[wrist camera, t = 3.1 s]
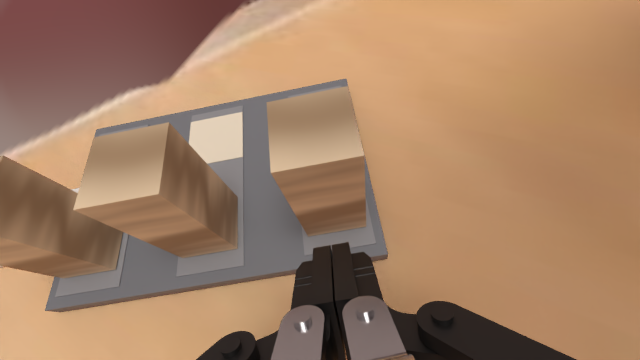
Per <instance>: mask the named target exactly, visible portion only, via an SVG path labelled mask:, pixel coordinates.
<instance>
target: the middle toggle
mask: <svg viewBox="0 0 640 360" xmlns="http://www.w3.org/2000/svg"><path fill="white" fill-rule="evenodd" d="M73 210H74V211H77V212H79V213H81V214H83V215H86V216H88V217H90V218H93V219H95V220H97V221H99V222H102V223H104V224H106V225H108V226H111V227H113V228H115V229H117V230H120V231H122V232H124V233H127V234H129V235H131V236H133V237H136V238H138V239H140V240H142V241H145V242H147V243H149V244H152V245H154V246H156V247H158V248H161V249H163V250H165V251H167V252H170V253H172V254H174V255H176V256H179V257H181V258H187V257H192V256H198V255H204V254H210V253H216V252H222V251H228V250H233V249H238V197H237V196H236V195H235V194H234V193H233V191H232V190H231V189H230V188H229V187H228V186H227V185H226V184H225V183H224V182H223V181H222V179H221V178H220V177H219V176H218V175H217V174H216V173H215V172H214V171H213V170H212V169H211V167H210V166H209V165H208V164H207V163H206V162H205V161H204V160H203V159H202V158H201V157H200V156H199V154H198V153H197V152H196V151H195V150H194V149H193V148H192V147H191V146H190V145H189V144H188V142H187V141H186V140H185V139H184V138H183V137H182V136H181V135H180V134H179V133H178V132H177V130H176V129H175V128H174V127H173V126H172V125H171V124H170V123H169V122H168V123H163V124H158V125H153V126H148V127H143V128H138V129H133V130H128V131H123V132H118V133H113V134H109V135H104V136H99V137H94V139H93V142H92V146H91V149H90V153H89V156H88V160H87V163H86V167H85V170H84V174H83V177H82V181H81V184H80V188H79V191H78V195H77V198H76V202H75V205H74V209H73Z"/></svg>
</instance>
